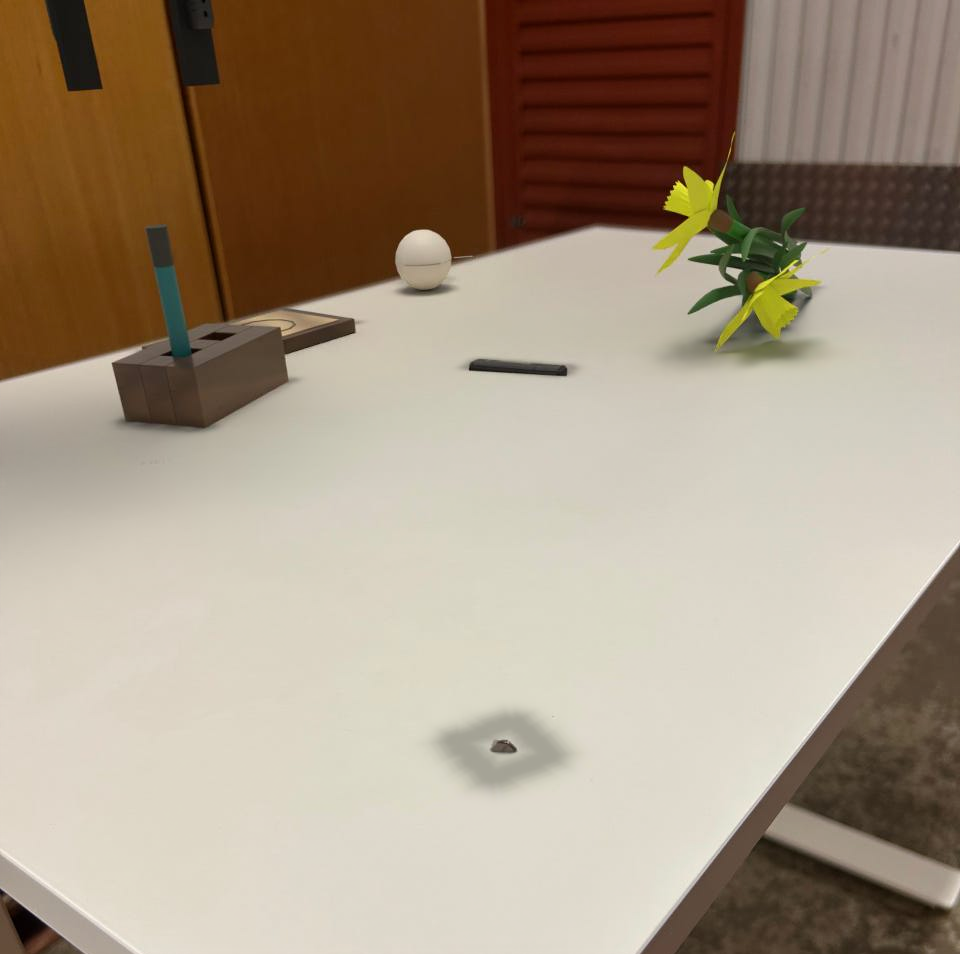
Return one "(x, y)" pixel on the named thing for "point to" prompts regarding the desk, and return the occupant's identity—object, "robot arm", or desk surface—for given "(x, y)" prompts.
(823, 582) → the desk surface
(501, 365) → the usb stick
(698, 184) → the daffodil flowers
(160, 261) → the pen
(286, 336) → the picture frame
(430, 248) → the seamed sphere
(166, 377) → the pen block
